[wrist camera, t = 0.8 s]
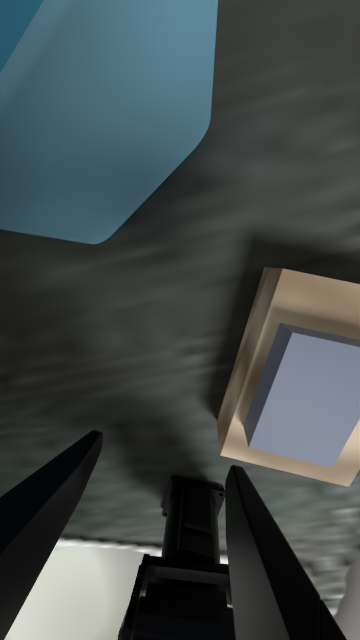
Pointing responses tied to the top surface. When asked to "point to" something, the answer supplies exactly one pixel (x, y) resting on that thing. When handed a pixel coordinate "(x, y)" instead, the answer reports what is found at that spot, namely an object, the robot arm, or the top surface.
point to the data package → (98, 108)
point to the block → (306, 396)
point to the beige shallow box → (265, 317)
